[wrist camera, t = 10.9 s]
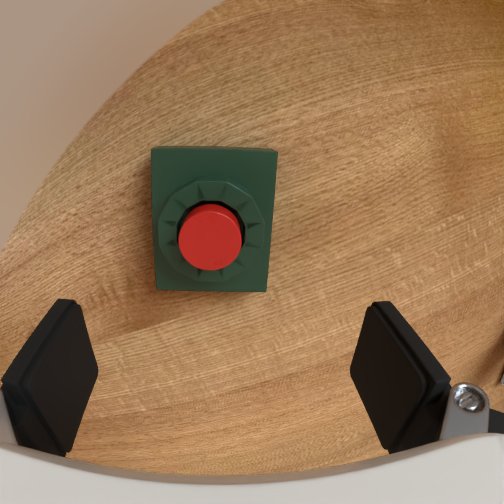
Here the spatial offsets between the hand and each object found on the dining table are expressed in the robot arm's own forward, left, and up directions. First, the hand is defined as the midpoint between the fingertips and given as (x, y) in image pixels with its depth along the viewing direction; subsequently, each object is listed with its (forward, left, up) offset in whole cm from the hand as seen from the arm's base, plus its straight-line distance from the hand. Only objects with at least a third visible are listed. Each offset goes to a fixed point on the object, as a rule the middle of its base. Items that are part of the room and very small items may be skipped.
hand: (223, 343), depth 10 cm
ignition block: (0, -1, -14) cm, 14 cm away
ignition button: (0, -1, -11) cm, 11 cm away
